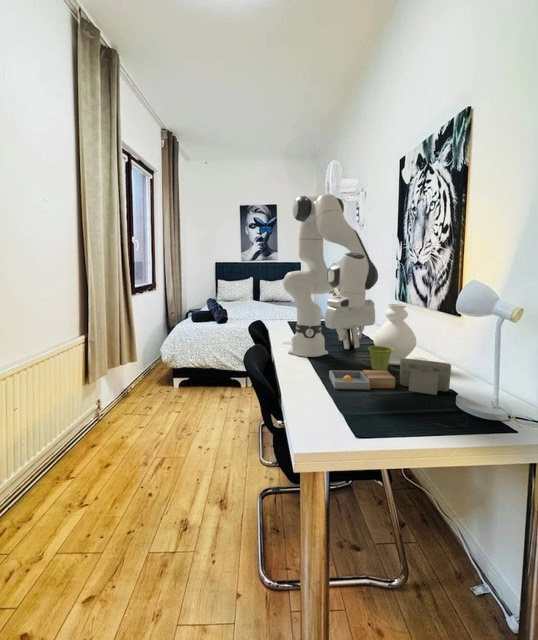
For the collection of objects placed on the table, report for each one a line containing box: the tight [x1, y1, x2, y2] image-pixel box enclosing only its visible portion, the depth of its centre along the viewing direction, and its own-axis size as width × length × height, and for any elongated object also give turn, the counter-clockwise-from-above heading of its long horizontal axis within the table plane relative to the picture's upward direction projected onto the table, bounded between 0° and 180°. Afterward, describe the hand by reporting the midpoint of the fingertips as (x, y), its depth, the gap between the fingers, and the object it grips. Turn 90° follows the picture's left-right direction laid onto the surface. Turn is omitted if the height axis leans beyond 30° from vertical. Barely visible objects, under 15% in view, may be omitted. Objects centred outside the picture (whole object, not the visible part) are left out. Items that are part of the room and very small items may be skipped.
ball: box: [343, 375, 352, 381], centre depth 135 cm, size 3×3×3 cm
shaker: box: [342, 325, 360, 350], centre depth 135 cm, size 6×6×8 cm
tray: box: [328, 370, 371, 391], centre depth 137 cm, size 14×12×2 cm
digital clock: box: [399, 357, 452, 396], centre depth 130 cm, size 16×9×11 cm, turn 53°
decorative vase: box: [373, 303, 417, 366], centre depth 167 cm, size 18×18×25 cm
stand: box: [362, 369, 396, 389], centre depth 137 cm, size 10×9×4 cm
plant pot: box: [367, 345, 393, 371], centre depth 155 cm, size 9×9×9 cm
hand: (349, 339), depth 135 cm, fingers closed on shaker, 6 cm apart
